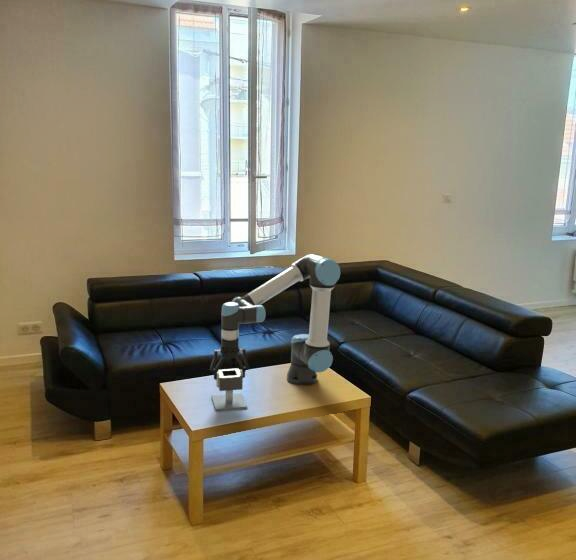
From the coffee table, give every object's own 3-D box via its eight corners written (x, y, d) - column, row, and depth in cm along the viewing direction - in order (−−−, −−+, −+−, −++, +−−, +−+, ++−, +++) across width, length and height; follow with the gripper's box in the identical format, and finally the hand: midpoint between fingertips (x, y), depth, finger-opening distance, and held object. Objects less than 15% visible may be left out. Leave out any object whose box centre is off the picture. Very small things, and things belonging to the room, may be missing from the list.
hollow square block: (238, 380, 264) (238, 368, 262) (242, 389, 254) (242, 376, 253) (216, 382, 261) (216, 369, 260) (219, 391, 252) (219, 378, 250)
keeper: (241, 395, 268) (242, 377, 266) (247, 408, 255) (247, 389, 253) (211, 397, 264) (211, 379, 262) (215, 411, 251) (215, 391, 249)
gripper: (253, 333, 259) (252, 380, 264) (203, 336, 253) (202, 383, 258) (257, 339, 252) (255, 386, 257) (205, 341, 246) (204, 390, 251)
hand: (229, 385), depth 258 cm, fingers closed on hollow square block, 10 cm apart
